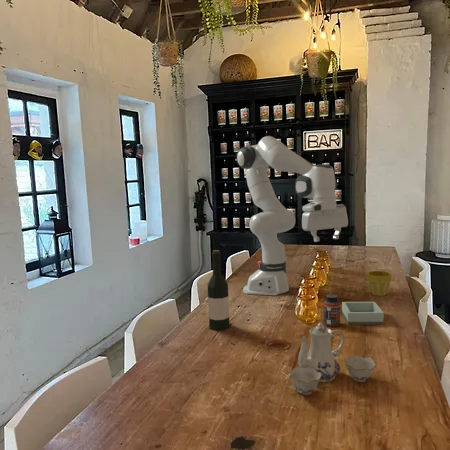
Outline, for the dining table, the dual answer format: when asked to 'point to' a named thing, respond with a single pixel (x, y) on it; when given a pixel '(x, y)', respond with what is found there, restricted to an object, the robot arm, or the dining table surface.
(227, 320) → the wine bottle
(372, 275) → the plant pot
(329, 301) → the supplement bottle
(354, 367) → the chinaware
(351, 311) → the grey-green square tray
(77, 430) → the dining table surface
